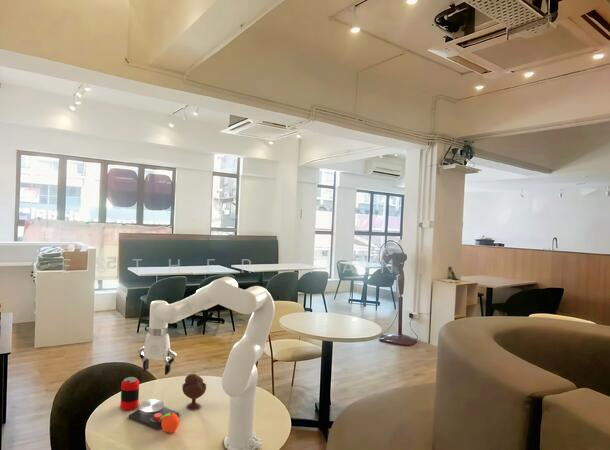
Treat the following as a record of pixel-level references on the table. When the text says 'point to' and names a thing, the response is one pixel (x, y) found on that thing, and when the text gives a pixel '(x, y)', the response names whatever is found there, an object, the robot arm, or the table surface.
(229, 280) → the robot arm
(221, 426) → the table surface
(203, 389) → the ice cream bowl
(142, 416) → the scale
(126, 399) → the soda can
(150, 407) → the pan
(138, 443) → the table surface
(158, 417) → the button
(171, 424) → the clementine
